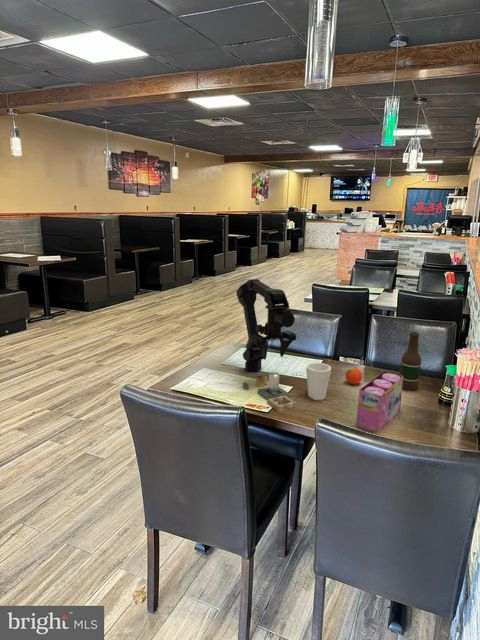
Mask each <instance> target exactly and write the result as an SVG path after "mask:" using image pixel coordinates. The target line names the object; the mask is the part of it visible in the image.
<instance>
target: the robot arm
mask: <svg viewBox="0 0 480 640" xmlns="http://www.w3.org/2000/svg"><path fill="white" fill-rule="evenodd" d="M235 294H236V297H237V300H238V303H239V304H240V305H241V306H242V309H243V315H244V319H245V325H246V330H247V331H246V332H247V338H248V339H247V342H246V344H245V346H246V347H245V348H246V349H245V350H244V352H243V353H242V358H243V359H244V360H245V363H244V364H245V365H244V371H245V372H247V373H257V372H260V371H262V360H263V361H264V360H265V361H266V359H267V356H268V355H267V354H268V348H269V345H268V344H267V342H271V341H277V340H279V342H280V345H279V346H280V349H279V350H280V351H279V354H280V355H279V356H280V357H281V358H283V357H284V355H285V353H286V351H287V350H288V348H289V347H290V345H291V344H292V343H294V342H293V341H297V334H296V333H295V332H293V331H291V330H284V331H282V328H284V327H285V328H290V327H292V326H293V325H294V324H295V321H296V317H295V316H294V314H293V313H291V311H292V310H291V309H290V303H289V301H288V299H287V296H286V293H285V291H284V290H282V289H278V288H272V287H270V286H269V285H267V284H266V283H264V282H262V281H261V280H260V279H258V278H256V279H249V280H247V281H246V282H244V283H243V284H242V285H240V286H239V287H238V288H237V290H236V293H235ZM257 295H260V296H261V297H263V301H264V302H265V303H266V306H265V309H267V321H266V322H265V324H264V325H262V324H258V320H257V314H256V308H255V304H256V301H257Z"/></svg>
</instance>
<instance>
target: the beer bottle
mask: <svg viewBox="0 0 480 640" xmlns="http://www.w3.org/2000/svg"><path fill="white" fill-rule="evenodd" d="M419 337H420V333H419V332H418V331H411V332H409V340H408V346H407V348H406V351H405V352H404V353H403V355H402V357H401V361H400V368H399V375H398V376H399V377H400V375H402V376H403V384H402V391H407V392H416V391H417V390H418V389H419V383H420V377H421V369H422V358H421V357H422V356H421V355H420V354H419Z"/></svg>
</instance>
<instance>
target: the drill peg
mask: <svg viewBox="0 0 480 640" xmlns="http://www.w3.org/2000/svg"><path fill="white" fill-rule="evenodd" d="M268 387H269V388H268V393H269V394H270V395H275V394H279V387H280V373H279V372H276V371H272V372H270V373H268Z"/></svg>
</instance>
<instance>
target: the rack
mask: <svg viewBox="0 0 480 640" xmlns="http://www.w3.org/2000/svg"><path fill="white" fill-rule="evenodd" d="M278 402H285V403H283V404H279V403H278ZM266 403H267V405H269V406H270V407H271V408H273V409H274V410H275V411H276V412H281V411H282V412H283V411H286V410H290V409H295V408H296V407H297V403H296V401H294V400H293V399H291V398H290V397H289V398H288V397H287V396H280V397H276V398H272V399H267V402H266Z"/></svg>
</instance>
